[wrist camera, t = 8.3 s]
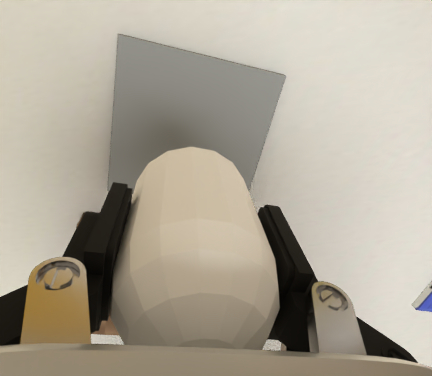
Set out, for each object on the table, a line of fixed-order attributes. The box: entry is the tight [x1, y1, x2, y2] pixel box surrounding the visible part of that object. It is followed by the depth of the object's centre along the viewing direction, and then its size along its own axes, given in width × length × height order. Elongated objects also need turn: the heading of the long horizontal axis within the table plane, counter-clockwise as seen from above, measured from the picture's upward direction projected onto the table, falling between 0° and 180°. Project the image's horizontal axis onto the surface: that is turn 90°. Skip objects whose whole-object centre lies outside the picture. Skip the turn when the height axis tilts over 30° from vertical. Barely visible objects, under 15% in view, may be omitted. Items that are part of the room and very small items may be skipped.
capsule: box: [111, 147, 280, 350], centre depth 11 cm, size 5×5×8 cm
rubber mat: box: [107, 34, 286, 194], centre depth 23 cm, size 12×12×1 cm
